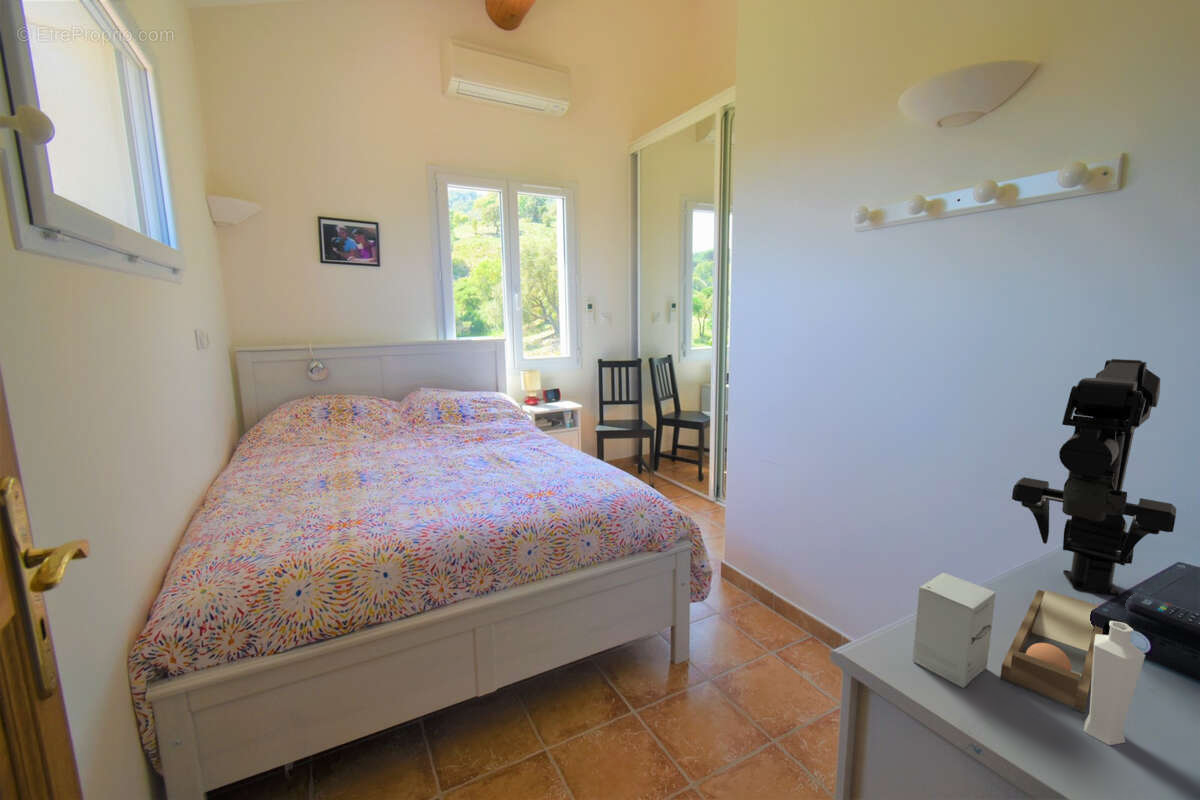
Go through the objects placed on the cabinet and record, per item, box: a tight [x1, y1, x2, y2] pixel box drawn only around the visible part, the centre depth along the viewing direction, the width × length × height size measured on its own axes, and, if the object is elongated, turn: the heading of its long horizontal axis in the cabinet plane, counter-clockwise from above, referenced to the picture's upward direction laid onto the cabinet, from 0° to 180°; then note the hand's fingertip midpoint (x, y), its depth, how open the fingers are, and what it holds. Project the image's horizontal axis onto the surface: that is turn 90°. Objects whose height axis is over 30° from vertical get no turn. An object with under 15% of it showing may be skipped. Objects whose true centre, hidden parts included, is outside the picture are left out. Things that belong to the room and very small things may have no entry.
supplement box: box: [912, 572, 996, 689], centre depth 78 cm, size 7×7×13 cm
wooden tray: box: [999, 589, 1104, 714], centre depth 81 cm, size 27×9×5 cm, turn 132°
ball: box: [1026, 643, 1071, 671], centre depth 75 cm, size 5×5×5 cm
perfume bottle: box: [1083, 620, 1146, 746], centre depth 65 cm, size 5×4×15 cm
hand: (1081, 551), depth 86 cm, fingers open, 9 cm apart
